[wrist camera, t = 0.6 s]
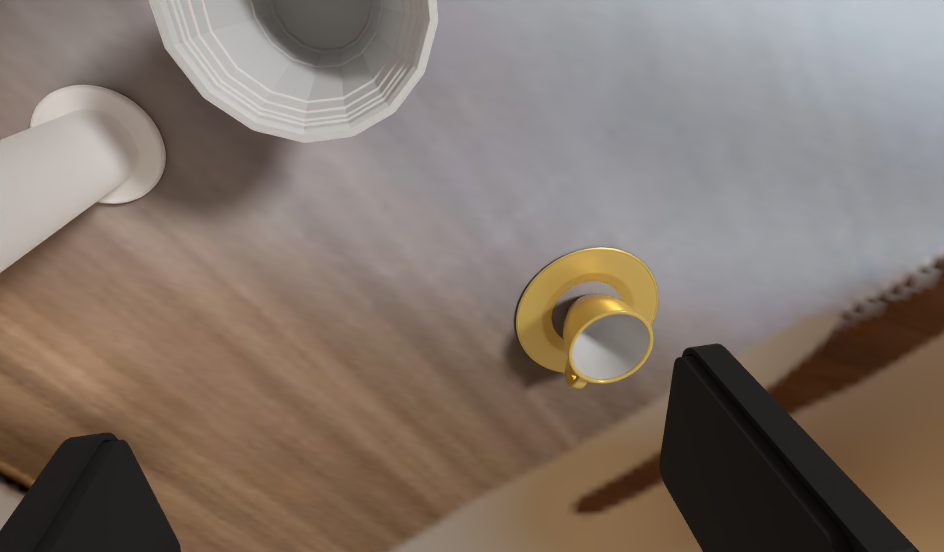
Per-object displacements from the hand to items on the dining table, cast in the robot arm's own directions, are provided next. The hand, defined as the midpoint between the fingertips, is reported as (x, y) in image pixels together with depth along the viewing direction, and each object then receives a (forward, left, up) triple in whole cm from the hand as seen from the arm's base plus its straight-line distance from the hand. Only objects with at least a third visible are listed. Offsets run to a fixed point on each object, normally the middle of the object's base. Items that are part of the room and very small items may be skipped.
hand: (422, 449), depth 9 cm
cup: (+12, +18, -29) cm, 36 cm away
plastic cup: (-6, -5, -29) cm, 30 cm away
